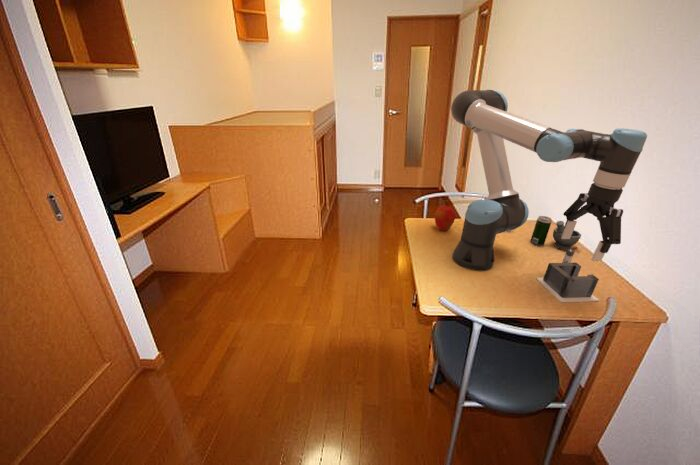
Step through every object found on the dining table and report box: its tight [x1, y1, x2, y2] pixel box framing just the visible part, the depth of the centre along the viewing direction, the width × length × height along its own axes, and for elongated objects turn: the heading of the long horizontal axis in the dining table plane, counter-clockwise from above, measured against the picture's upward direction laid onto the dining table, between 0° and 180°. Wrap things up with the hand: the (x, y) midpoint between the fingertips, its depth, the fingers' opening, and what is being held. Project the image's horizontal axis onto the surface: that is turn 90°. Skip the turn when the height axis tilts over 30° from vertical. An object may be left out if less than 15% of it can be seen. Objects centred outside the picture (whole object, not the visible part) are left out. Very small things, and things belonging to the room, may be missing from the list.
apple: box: [434, 205, 456, 232], centre depth 146 cm, size 9×9×12 cm
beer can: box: [530, 215, 552, 247], centre depth 136 cm, size 5×5×12 cm
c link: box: [542, 262, 600, 298], centre depth 106 cm, size 10×10×7 cm
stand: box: [561, 248, 575, 263], centre depth 118 cm, size 4×4×9 cm
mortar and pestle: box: [552, 220, 582, 251], centre depth 134 cm, size 11×9×12 cm
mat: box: [535, 277, 599, 303], centre depth 108 cm, size 13×13×1 cm
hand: (579, 248), depth 102 cm, fingers open, 13 cm apart
